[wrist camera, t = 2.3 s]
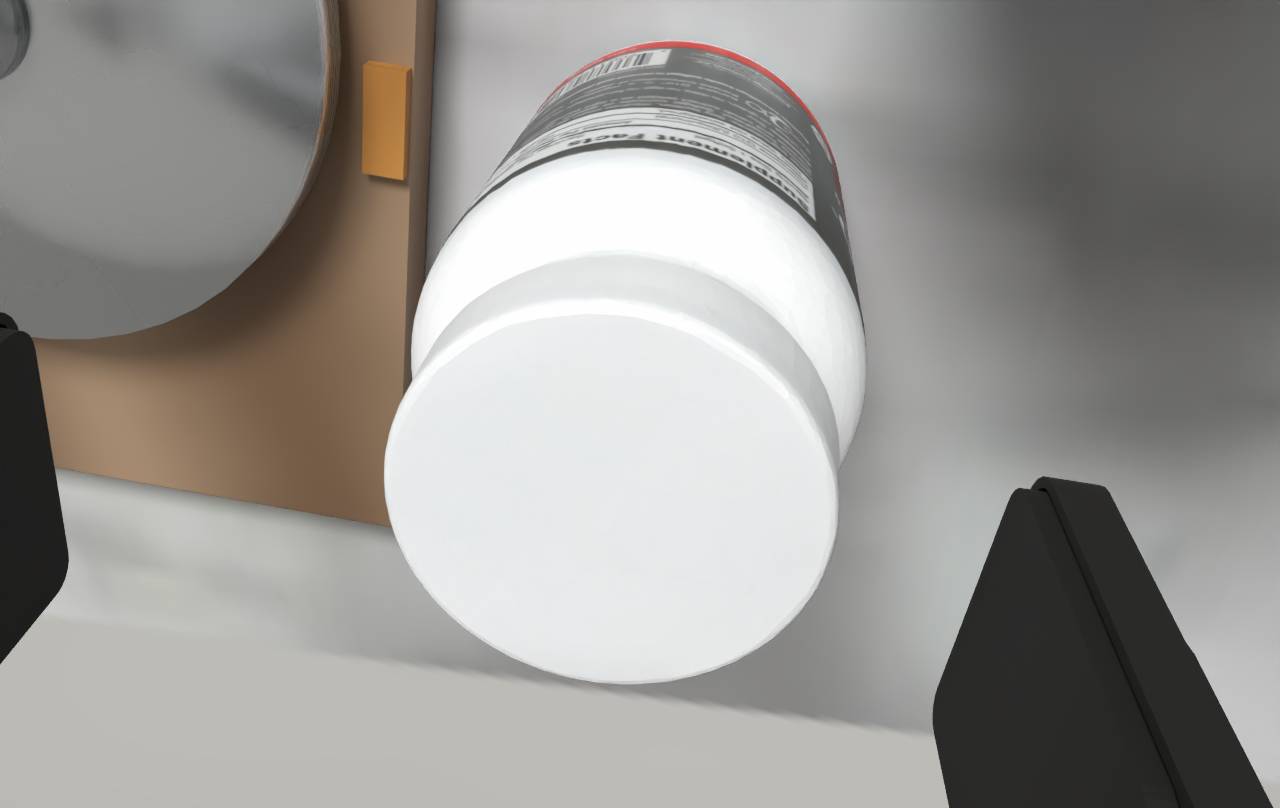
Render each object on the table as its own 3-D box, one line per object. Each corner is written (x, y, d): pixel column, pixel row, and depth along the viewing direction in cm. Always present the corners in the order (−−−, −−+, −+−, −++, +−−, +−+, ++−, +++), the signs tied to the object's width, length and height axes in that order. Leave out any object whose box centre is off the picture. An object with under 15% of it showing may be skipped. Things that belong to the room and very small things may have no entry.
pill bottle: (776, 376, 21) (777, 782, 13) (492, 291, 21) (296, 647, 12) (889, 88, 18) (990, 362, 10) (560, -15, 18) (370, 174, 10)
